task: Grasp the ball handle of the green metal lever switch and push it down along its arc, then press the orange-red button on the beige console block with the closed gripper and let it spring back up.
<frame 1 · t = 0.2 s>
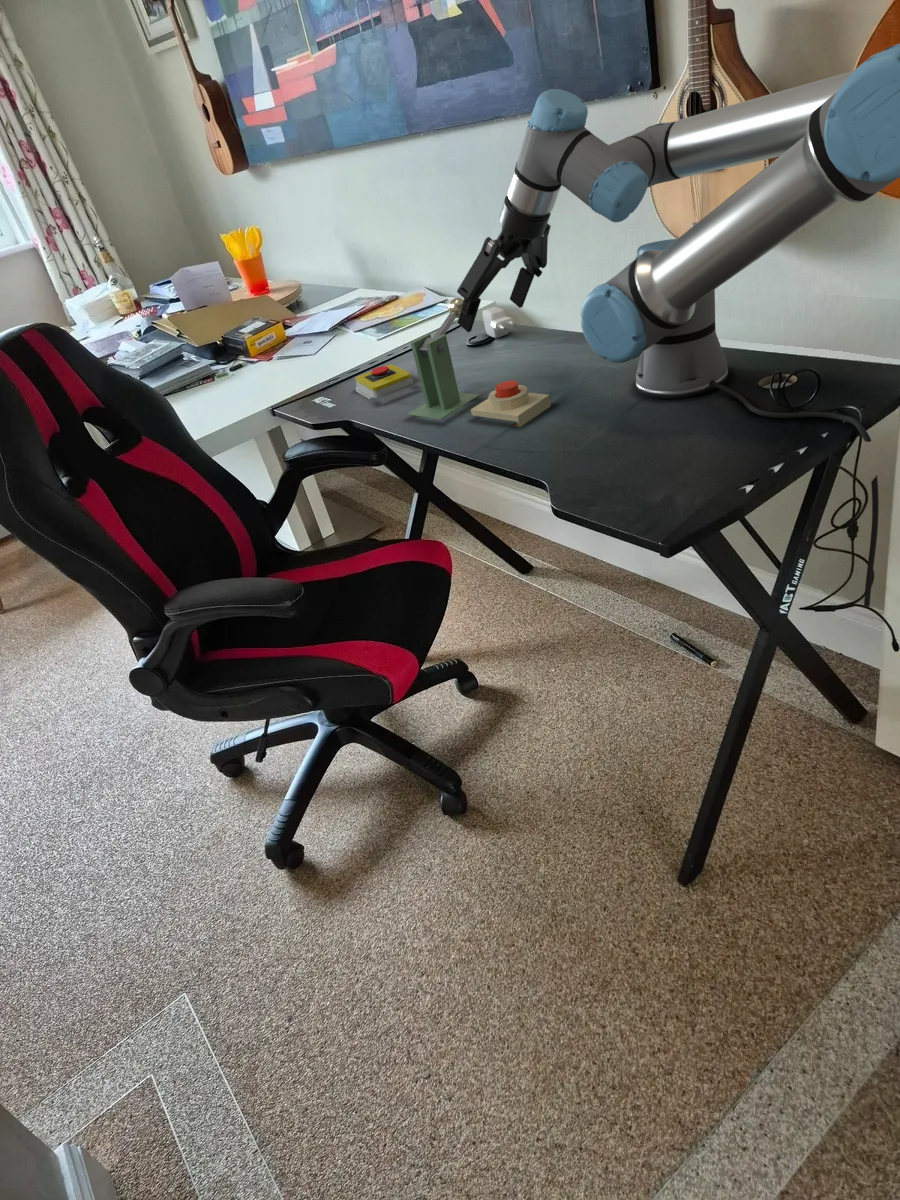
hand: (490, 314, 138), 16 cm above the table, tool tilted 35°, fingers open, 13 cm apart
emergency button: (387, 391, 165), on the table
switch bracket: (444, 410, 148), on the table
power adapter: (502, 337, 178), on the table
button console: (511, 413, 140), on the table
start button: (507, 389, 137), point 4 cm above the table, slide at 0.1 cm
lever switch: (444, 327, 143), point 14 cm above the table, hinge at 25.0°
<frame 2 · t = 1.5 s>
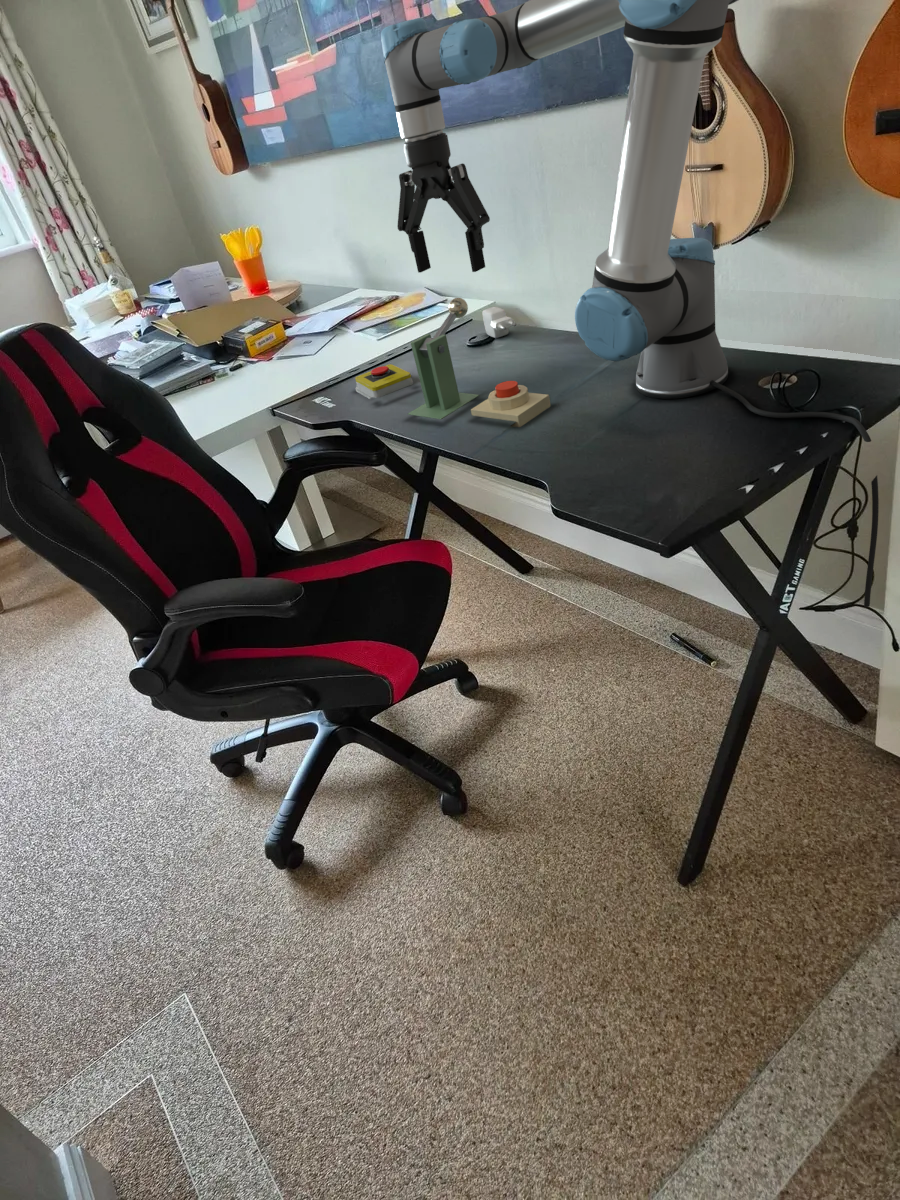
hand: (451, 270, 140), 23 cm above the table, tool pointing down, fingers open, 13 cm apart
nothing on the table moved.
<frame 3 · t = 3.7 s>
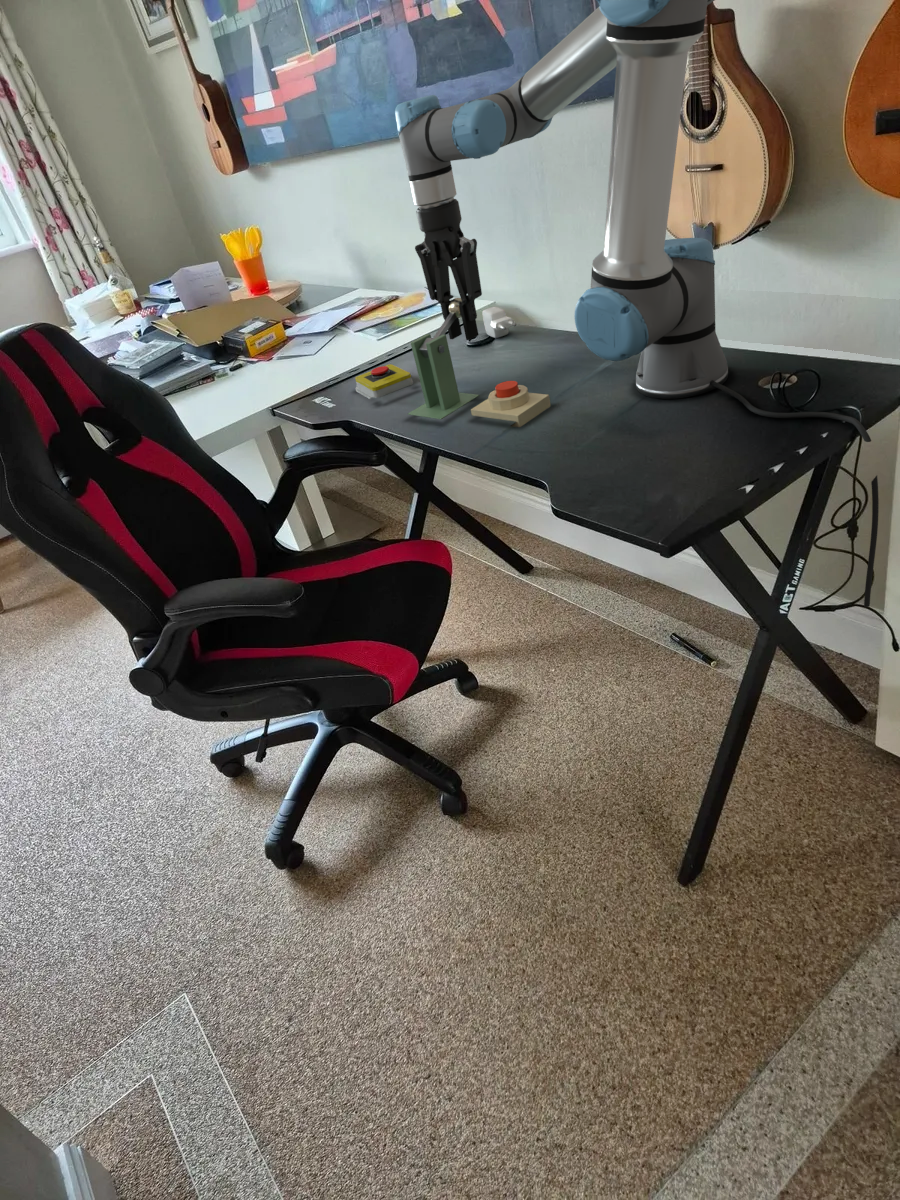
hand: (464, 336, 147), 11 cm above the table, tool pointing down, fingers closed on lever switch, 4 cm apart
lever switch: (444, 327, 143), point 14 cm above the table, hinge at 25.0°, touching gripper
everything else where it was.
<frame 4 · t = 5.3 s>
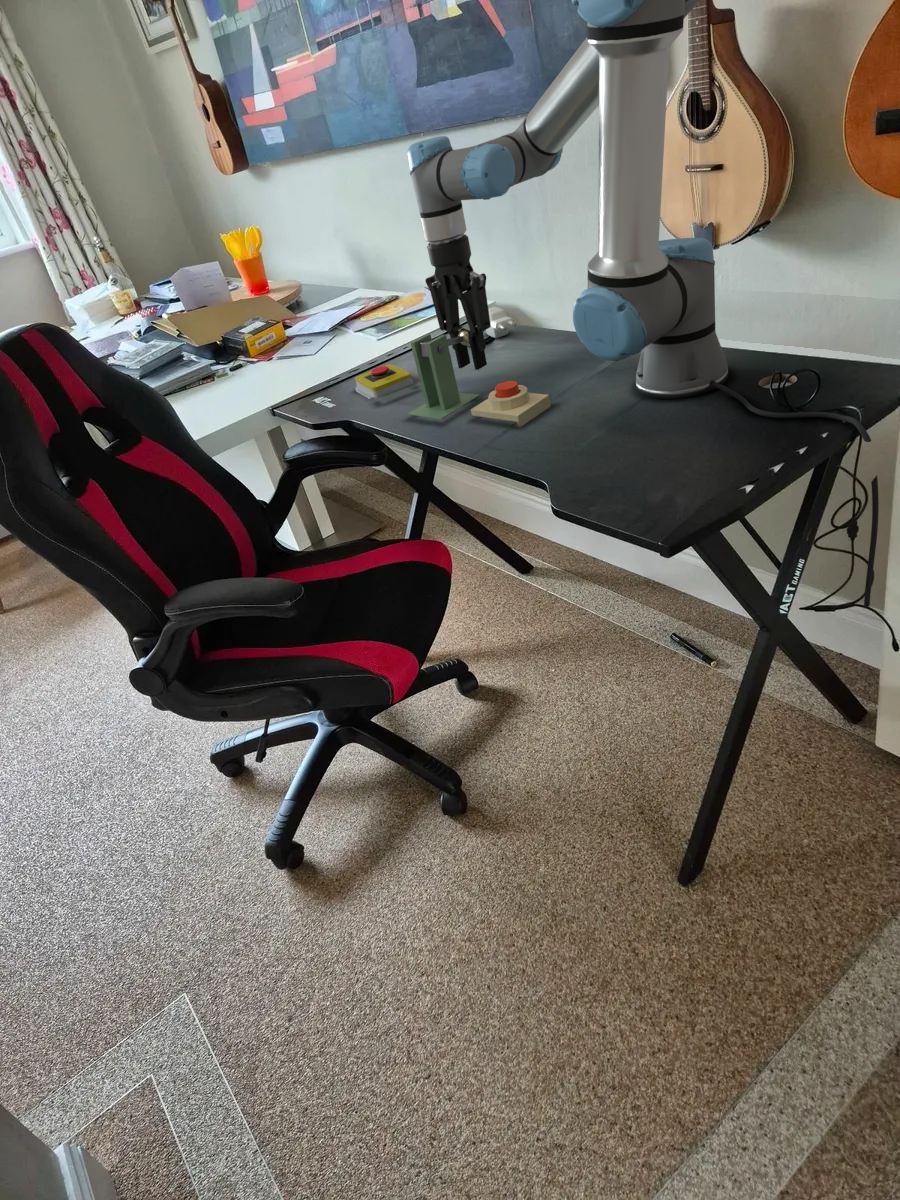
hand: (472, 366, 151), 5 cm above the table, tool pointing down, fingers closed on lever switch, 4 cm apart
lever switch: (449, 342, 145), point 11 cm above the table, hinge at -8.4°, touching gripper
everything else where it was.
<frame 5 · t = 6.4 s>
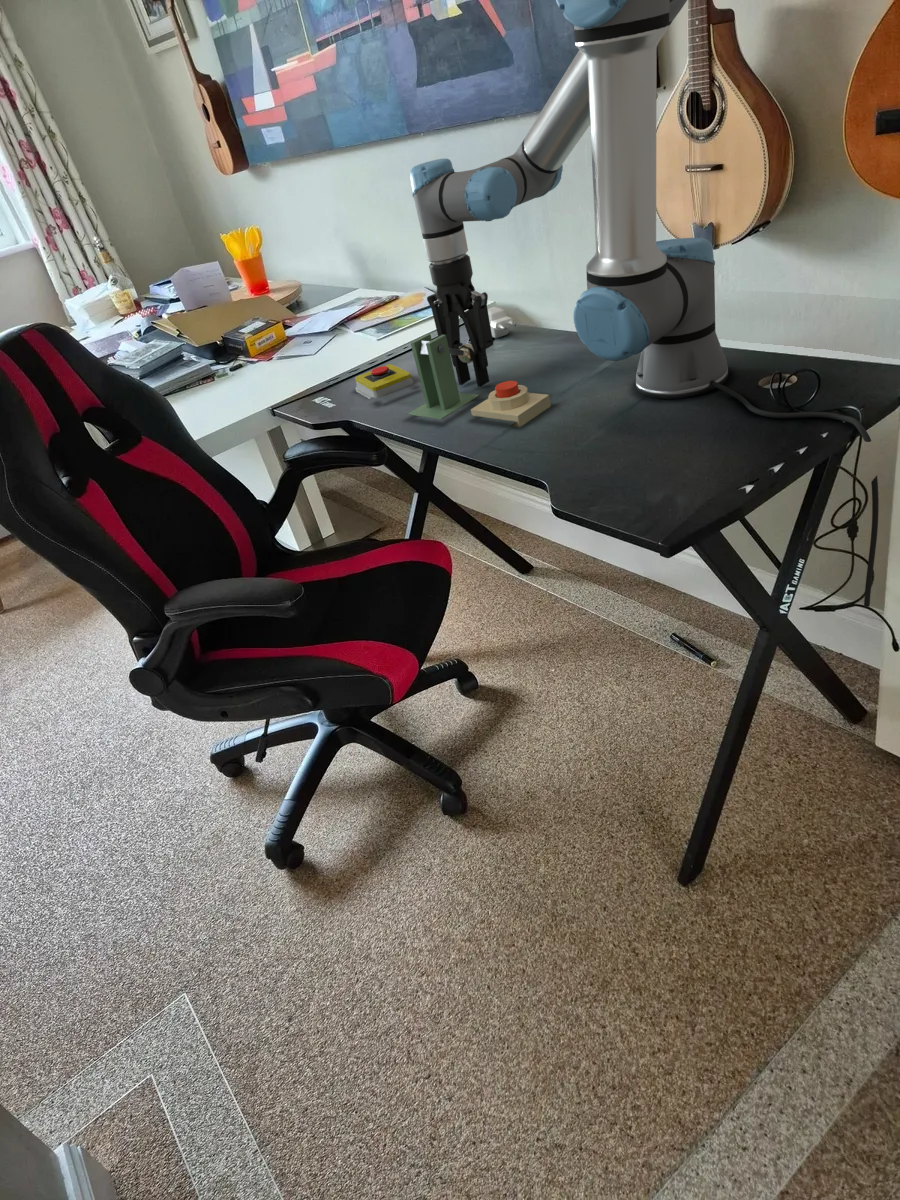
hand: (474, 382, 152), 2 cm above the table, tool pointing down, fingers open, 4 cm apart
lever switch: (450, 351, 145), point 10 cm above the table, hinge at -26.2°
everything else where it was.
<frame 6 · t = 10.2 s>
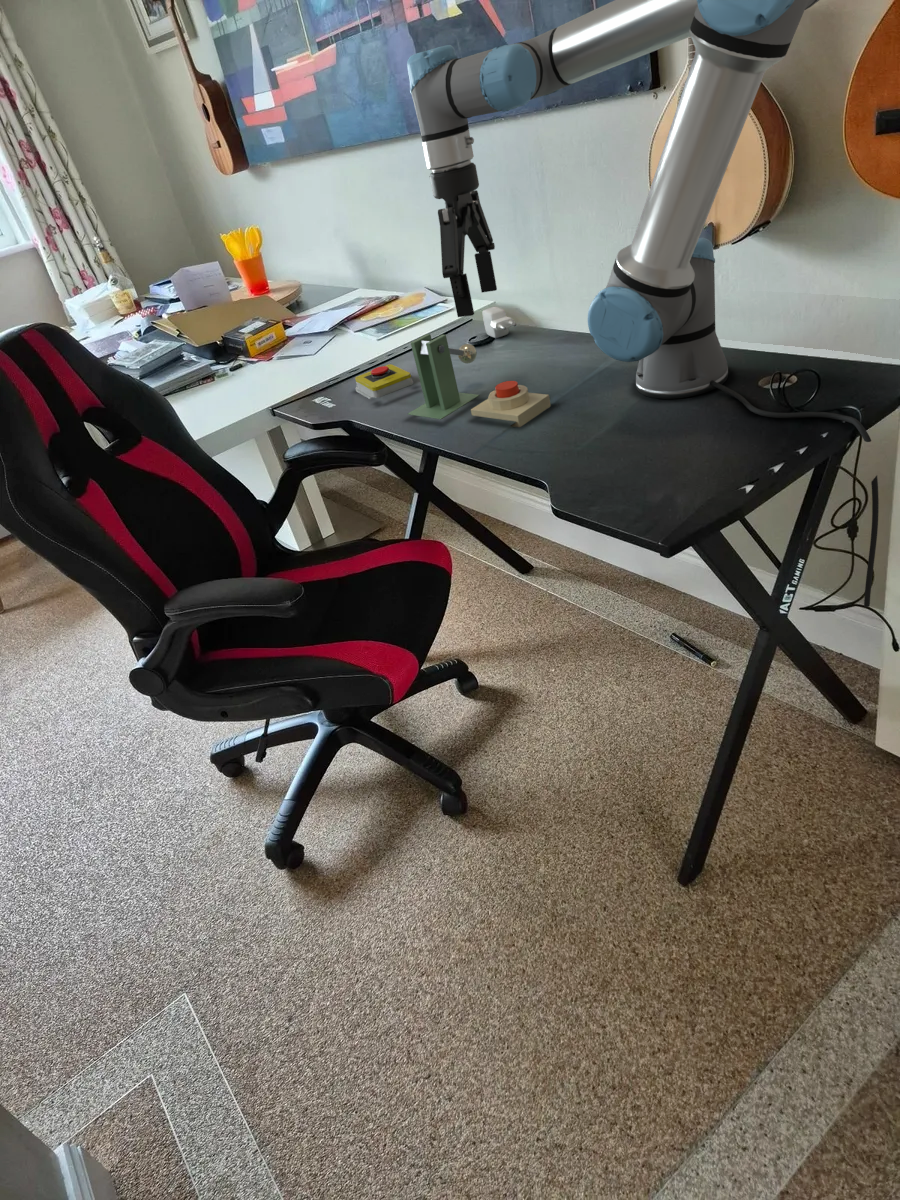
hand: (478, 303, 134), 19 cm above the table, tool pointing down, fingers open, 13 cm apart
nothing on the table moved.
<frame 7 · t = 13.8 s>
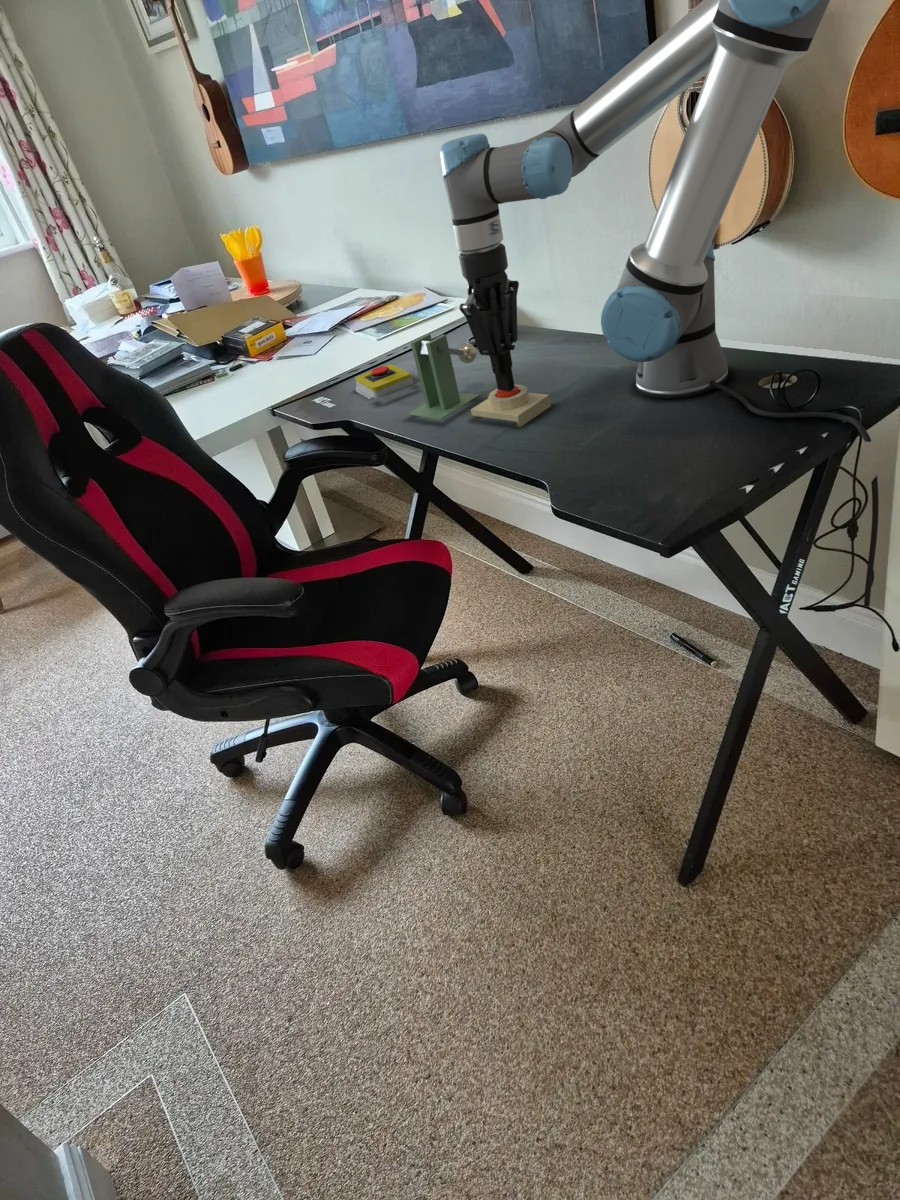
hand: (506, 388, 137), 5 cm above the table, tool pointing down, fingers closed
start button: (508, 394, 138), point 4 cm above the table, slide at -0.8 cm, touching gripper
everything else where it was.
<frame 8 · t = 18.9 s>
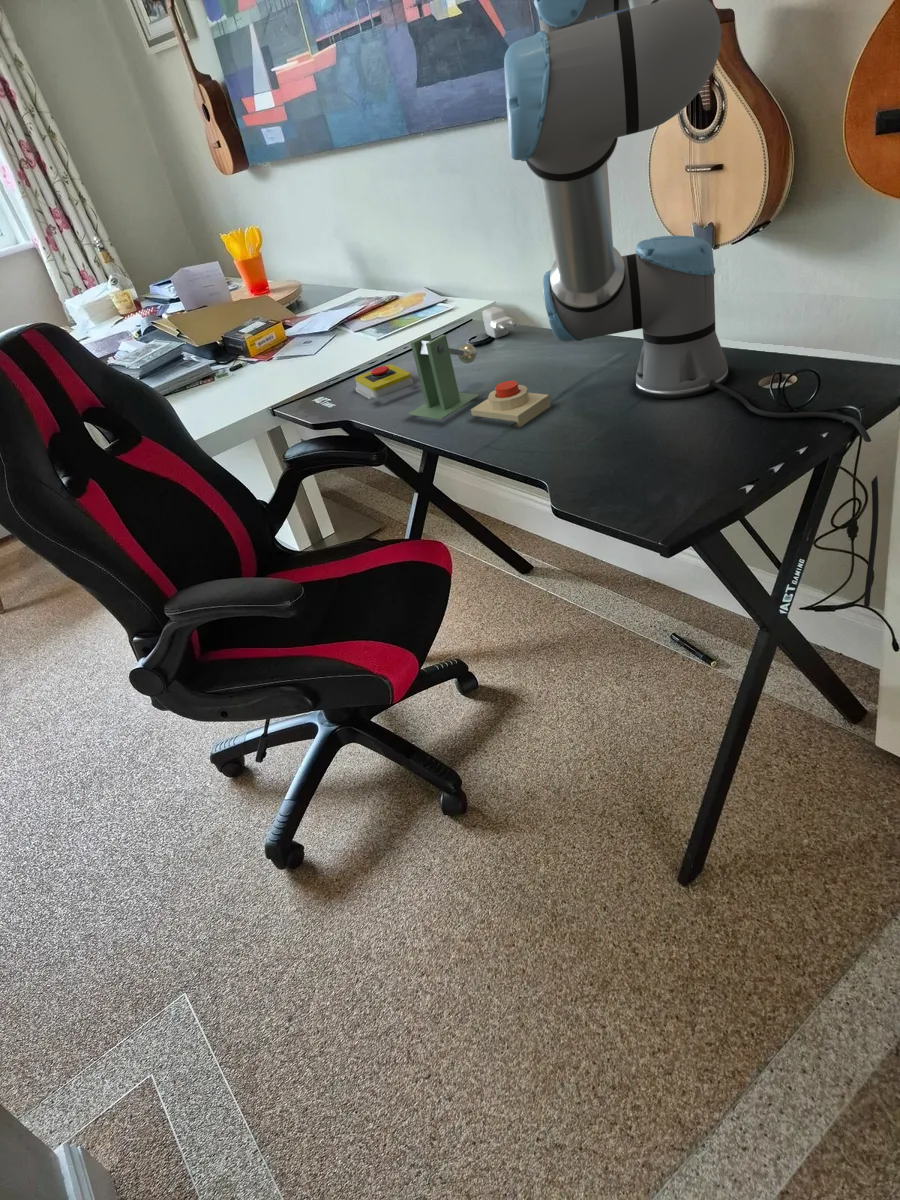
hand: (585, 225, 140), 24 cm above the table, tool pointing down, fingers closed
start button: (507, 389, 137), point 4 cm above the table, slide at 0.1 cm
everything else where it was.
at the end: lever switch at -26° (first picture: +25°); start button pushed in 1.0 cm at the most during the clip, back to where it started at the end; start button slide at 0.1 cm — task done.
